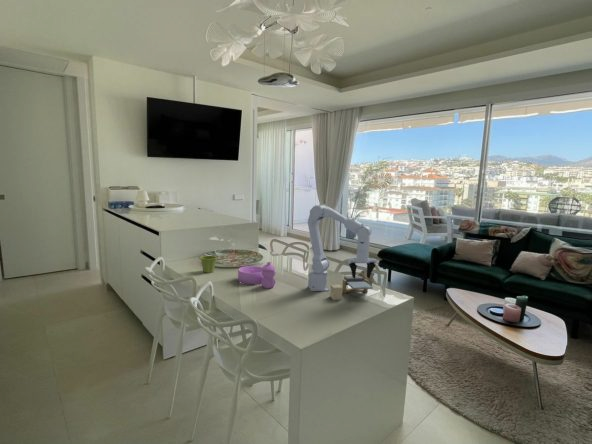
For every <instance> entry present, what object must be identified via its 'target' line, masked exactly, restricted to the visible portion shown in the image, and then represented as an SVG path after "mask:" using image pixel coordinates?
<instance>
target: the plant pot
mask: <svg viewBox="0 0 592 444" xmlns="http://www.w3.org/2000/svg"><path fill="white" fill-rule="evenodd" d="M199 258H200V261H201V266H202V271H203V273H207V274H209V273H210V274H211V273H213V271H215V264H216V260H217V258H218V257H217V256H215V255H201V256H200V257H199Z"/></svg>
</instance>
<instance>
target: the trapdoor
mask: <svg viewBox="0 0 592 444" xmlns="http://www.w3.org/2000/svg"><path fill="white" fill-rule="evenodd" d="M343 280H346V281H347V284H346V286H348V287H350V288H352V289H368V290H373V285H372V286H370V285H369V284H368V283H366V282H356V281H363V278H362V277H361V276H358V275H356V276H355V278H353V277H352V275H344V276H343Z"/></svg>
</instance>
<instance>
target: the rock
mask: <svg viewBox="0 0 592 444" xmlns="http://www.w3.org/2000/svg"><path fill="white" fill-rule="evenodd" d="M357 276H361V277H362V278H363V281H364V279H367V280H368V284H369V285H370V286H372V287H373V284H374V282H375V278H374V276H375V273H374V272H372V273H371V275H370V278H368V277H367V269H363V270H361V271H360V272H359V273H358V274H357Z"/></svg>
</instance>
